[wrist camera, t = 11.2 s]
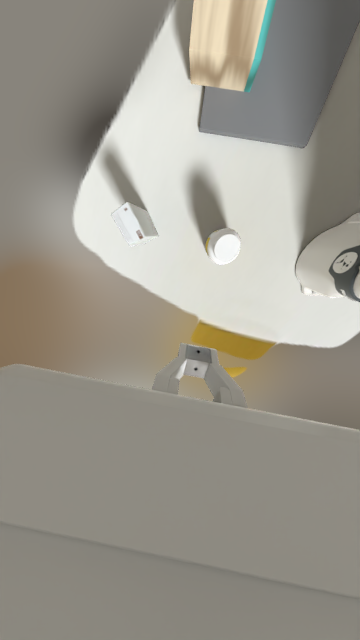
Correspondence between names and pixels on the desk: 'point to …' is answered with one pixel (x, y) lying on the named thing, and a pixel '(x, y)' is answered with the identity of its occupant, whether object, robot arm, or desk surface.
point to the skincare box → (134, 224)
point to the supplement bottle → (223, 246)
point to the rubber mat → (287, 75)
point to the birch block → (228, 41)
